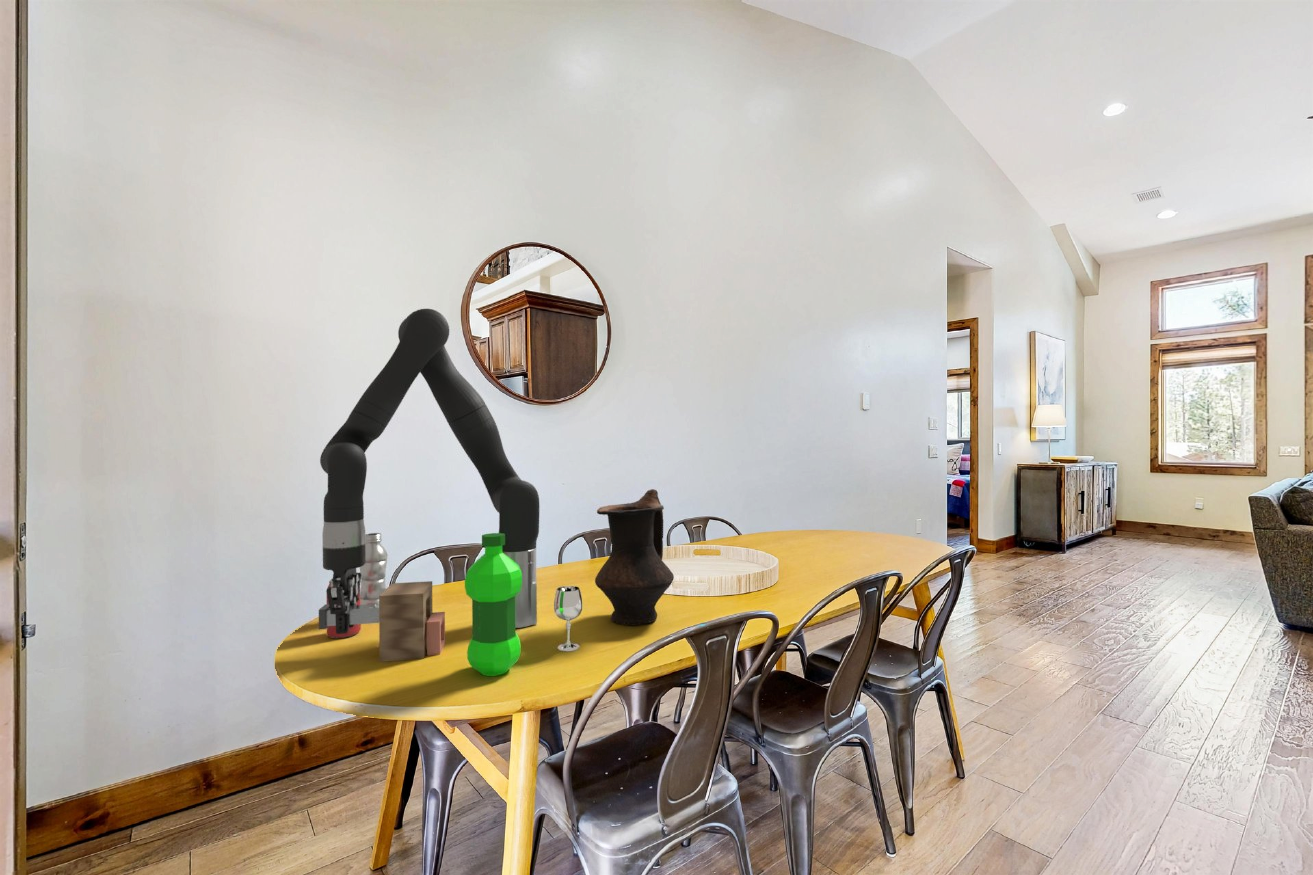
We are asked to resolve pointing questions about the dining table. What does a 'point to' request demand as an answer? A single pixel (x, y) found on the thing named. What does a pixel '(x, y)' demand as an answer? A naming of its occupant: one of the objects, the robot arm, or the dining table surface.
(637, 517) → the jug
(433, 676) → the dining table surface
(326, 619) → the shaft
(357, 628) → the beer can
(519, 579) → the plastic bottle
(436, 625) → the spacer
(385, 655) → the brown wooden block
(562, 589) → the wineglass
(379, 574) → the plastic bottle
